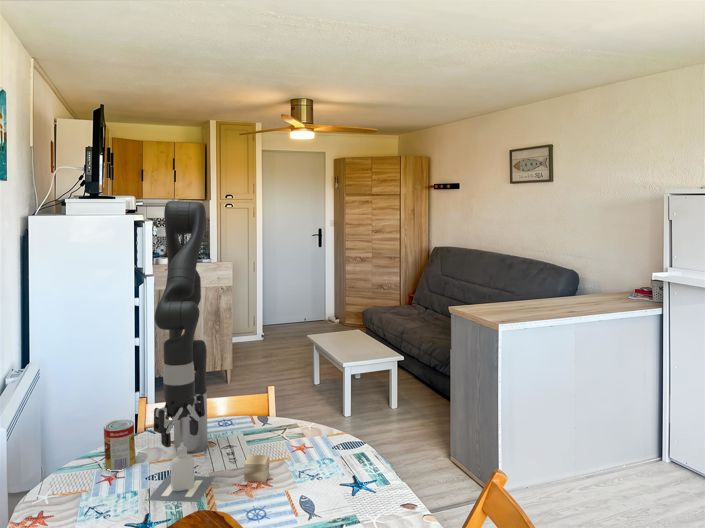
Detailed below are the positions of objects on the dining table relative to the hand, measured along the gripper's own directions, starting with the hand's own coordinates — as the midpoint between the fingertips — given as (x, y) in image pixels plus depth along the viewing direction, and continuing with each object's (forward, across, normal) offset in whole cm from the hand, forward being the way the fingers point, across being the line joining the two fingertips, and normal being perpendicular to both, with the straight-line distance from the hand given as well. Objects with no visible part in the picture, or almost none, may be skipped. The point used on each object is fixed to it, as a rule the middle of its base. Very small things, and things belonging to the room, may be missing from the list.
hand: (180, 440), depth 140 cm
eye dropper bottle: (+13, 0, -1) cm, 13 cm away
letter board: (+13, 0, 0) cm, 13 cm away
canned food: (+14, 0, +26) cm, 29 cm away
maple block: (+13, +15, -12) cm, 24 cm away
